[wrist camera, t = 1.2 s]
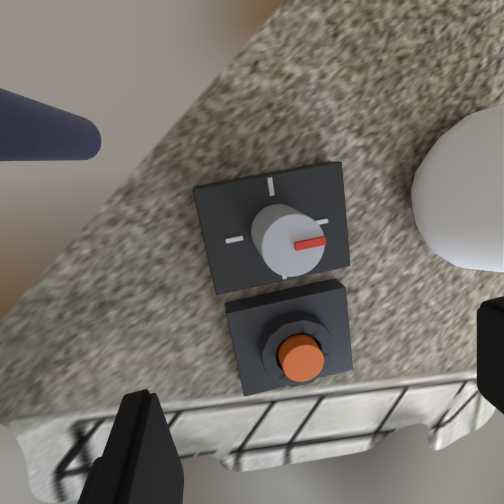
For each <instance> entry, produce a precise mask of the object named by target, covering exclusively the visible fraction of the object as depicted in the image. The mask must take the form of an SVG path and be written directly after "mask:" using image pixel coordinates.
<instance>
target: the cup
mask: <svg viewBox="0 0 504 504" xmlns="http://www.w3.org/2000/svg"><path fill="white" fill-rule="evenodd" d="M411 200H412V208H413V214H414V217H415V221H416V225H417V228H418V230H419V231H420V233H421V235H422V236H423V238H424V240H425V241H426V243H427V245H428V246H429V248H430V249H431V250H432V251H433V252H434V253H435V254H437V255H439V256H440V257H442V258H444V259H445V260H447V261H449V262H450V263H452V264H453V265H455V266H457V267H461V268H468V269H478V270H487V271H497V272H504V104H502V105H498V106H495V107H491V108H488V109H485V110H481V111H478V112H474V113H472V114H470V115H468V116H466V117H465V118H463V119H462V120H461V121H460V122H458V123H457V124H456V125H455V126H453V127H452V128H451V129H450V130H448V131H447V132H446V133H445V134H443V135H442V136H441V137H440V138H439V139H438V140H437V142H436V143H435V144H434V146H433V147H432V148H431V149H430V151H429V152H428V153H427V155H426V156H425V158H424V159H423V161H422V163H421V164H420V166H419V167H418V169H417V170H416V172H415V176H414V180H413V184H412V188H411Z"/></svg>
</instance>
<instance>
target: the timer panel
mask: <svg viewBox="0 0 504 504" xmlns="http://www.w3.org/2000/svg"><path fill="white" fill-rule="evenodd" d="M193 193H194V197H195V202H196V206H197V211H198V215H199V220H200V224H201V229H202V233H203V238H204V242H205V247H206V251H207V256H208V260H209V265H210V269H211V274H212V278H213V283H214V287H215V292H216V295H220V294H224V293H229V292H233V291H238V290H243V289H247V288H252V287H256V286H261V285H265V284H270V283H275V282H279V281H284V280H288V279H293V278H298V277H302V276H307V275H311V274H316V273H321V272H325V271H330V270H334V269H339V268H344V267H348V266H350V256H349V244H348V232H347V220H346V208H345V196H344V184H343V172H342V162H325V163H319V164H314V165H308V166H303V167H298V168H292V169H287V170H281V171H276V172H271V173H265V174H260V175H254V176H249V177H244V178H238V179H233V180H227V181H222V182H217V183H211V184H206V185H200V186H195V187H194V188H193ZM273 204H284V205H288V206H290V207H292V208H294V209H296V210H297V211H299V212H301V213H303V214H305V215H307V216H309V217H310V218H312V219H313V220H315V221H316V222H317V223H318V224H319V226H320V227H321V229H322V231H323V234H324V237H325V238H326V245H325V247H324V252H323V255H322V257H321V259H320V261H319V262H318V264H317V265H316V266H315V267H314V268H313V269H311V270H310V271H309V272H307V273H305V274H303V275H299V276H294V277H288V276H282V275H279V274H277V273H275V272H274V271H272V270H271V269H270V268H269V267H268V265H267V264H266V263H265V261H264V259H263V258H262V256H261V254H260V253H259V251H258V249H257V248H256V246H255V244H254V243H253V240H252V237H251V227H252V223H253V220H254V218H255V217H256V215H257V214H258V213H259V212H260V211H261V210H262V209H264V208H265V207H267V206H270V205H273Z"/></svg>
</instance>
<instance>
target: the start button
mask: <svg viewBox="0 0 504 504" xmlns="http://www.w3.org/2000/svg"><path fill="white" fill-rule="evenodd" d="M278 357H279V361H280V363H281V366H282V368H283V371H284V373H285V375H286V376H287V377H288V378H289V379H291V380H293V381H297V382H304V381H308V380H311V379H313V378H314V377H316V376H317V375H318V374H319V373H320V371H321V370H322V368H323V365H324V356H323V353H322V352H321V350H320V348H319V347H318V345H317V344H316V342H315V341H314V339H313V338H311V337H310V336H307V335H303V334H297V335H293V336H291V337H289V338H287V339H286V340H285V341H284V342H283V343H282V345H281V346H280V348H279V352H278Z"/></svg>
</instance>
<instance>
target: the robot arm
mask: <svg viewBox="0 0 504 504" xmlns="http://www.w3.org/2000/svg"><path fill="white" fill-rule="evenodd" d="M477 387H478V389H479V391H480V393H481V394H482V396H483V397H484V398H485V399H486V400H488V401H489V402H490V403H491V404H492V405H493V406H495V407H496V408H497V409H498V410H499V411H500V412H502V413H503V414H504V297H498V298H495V299H491V300H487V301H484V302H482V304H481V305H480V308H479V309H478V310H477ZM183 487H184V473H183V468H182V464H181V461H180V459H179V456H178V453H177V450H176V447H175V445H174V442H173V439H172V436H171V433H170V430H169V428H168V425H167V422H166V419H165V416H164V413H163V411H162V408H161V405H160V402H159V399H158V397H157V395H156V393H152V394H150V393H149V391H148V390H147V389H145V390H141V391H137V392H133V393H129V394H126V395H124V397H123V399H122V402H121V405H120V407H119V410H118V413H117V416H116V418H115V421H114V424H113V427H112V430H111V432H110V435H109V438H108V441H107V444H106V446H105V449H104V452H103V455H102V457H98V458H97V459H96V460H95V461H94V463H93V465H92V467H91V469H90V472H89V475H88V477H87V480H86V482H85V485H84V488H83V490H82V493H81V496H80V498H79V501H78V504H182V501H183Z"/></svg>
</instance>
